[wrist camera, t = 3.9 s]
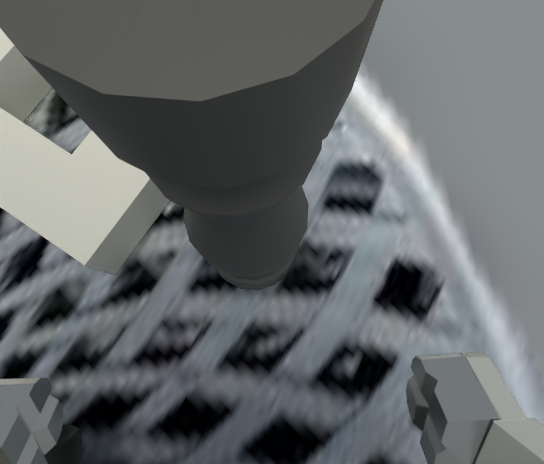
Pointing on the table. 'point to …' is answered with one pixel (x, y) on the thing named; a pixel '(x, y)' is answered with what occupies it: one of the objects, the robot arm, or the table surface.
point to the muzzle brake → (66, 447)
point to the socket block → (68, 179)
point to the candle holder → (208, 104)
